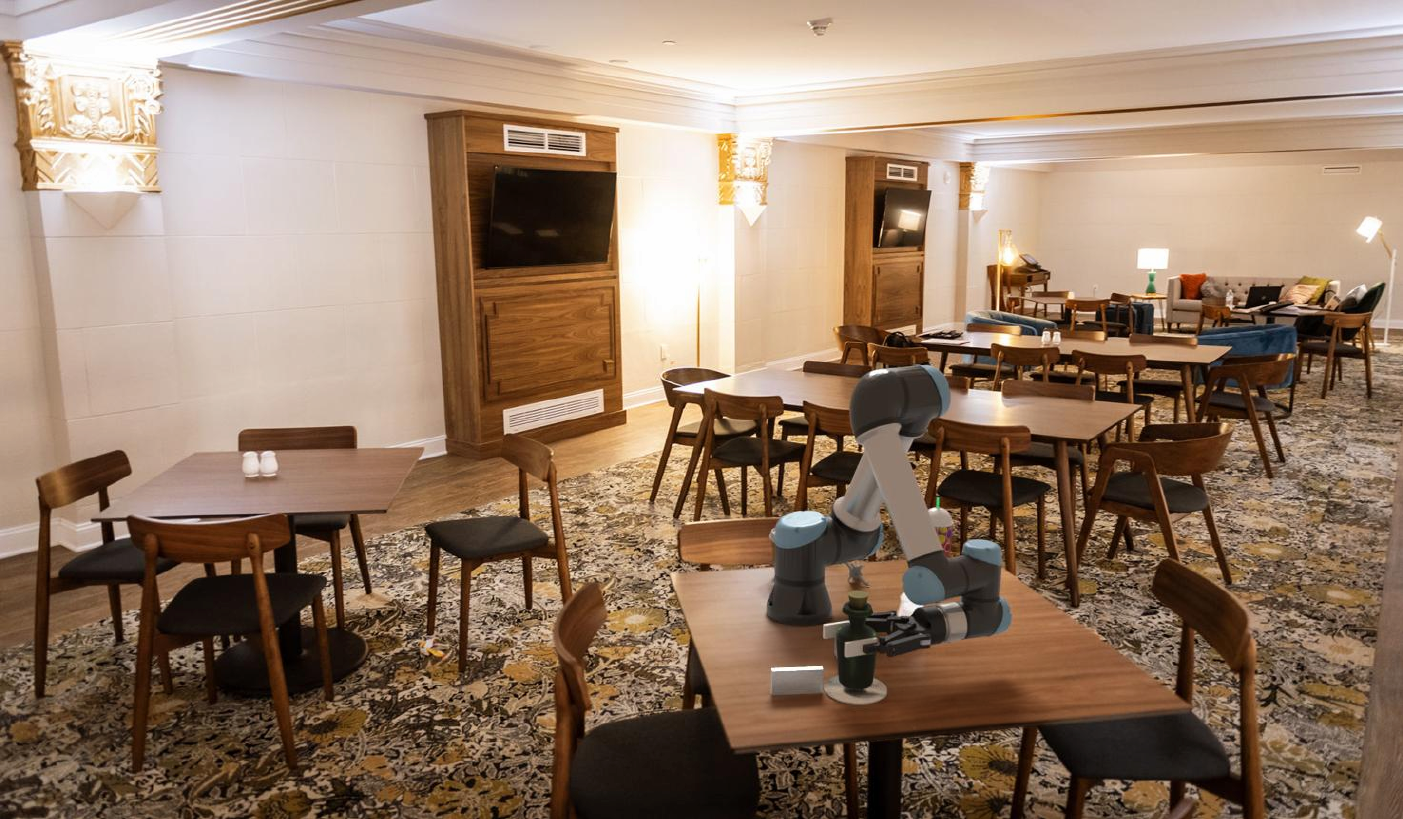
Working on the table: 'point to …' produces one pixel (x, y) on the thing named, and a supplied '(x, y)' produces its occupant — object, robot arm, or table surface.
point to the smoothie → (942, 527)
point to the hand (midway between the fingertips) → (834, 640)
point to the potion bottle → (862, 667)
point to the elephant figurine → (856, 572)
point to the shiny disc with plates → (812, 682)
